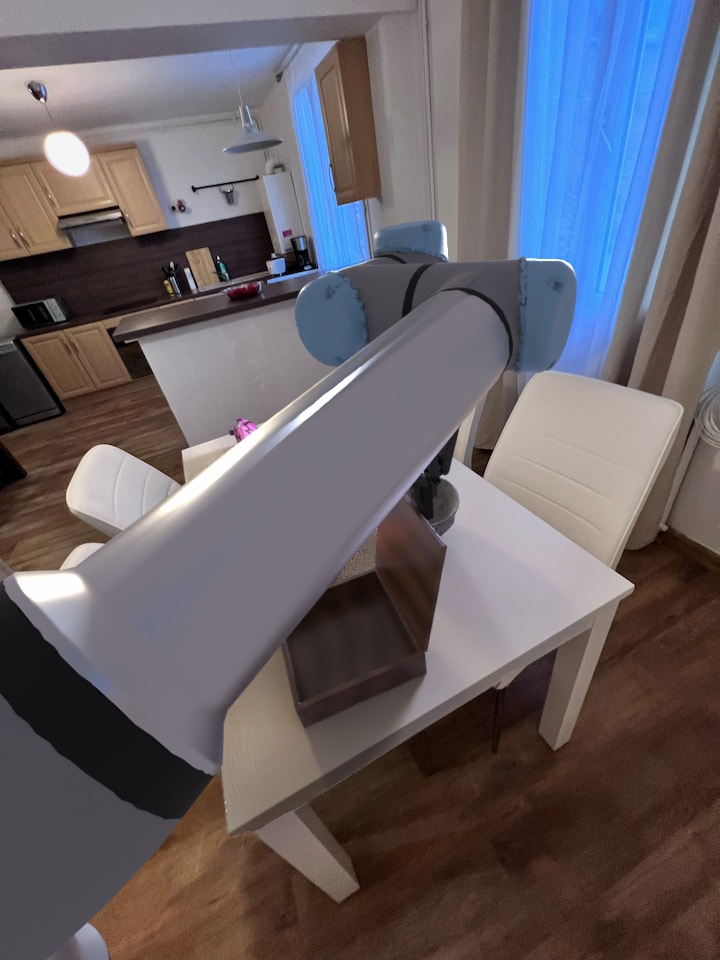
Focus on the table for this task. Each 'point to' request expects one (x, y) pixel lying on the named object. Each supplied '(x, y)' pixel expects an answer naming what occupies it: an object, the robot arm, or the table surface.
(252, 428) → the pencil case
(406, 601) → the lid
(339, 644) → the box
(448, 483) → the bowl
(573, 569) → the table surface
